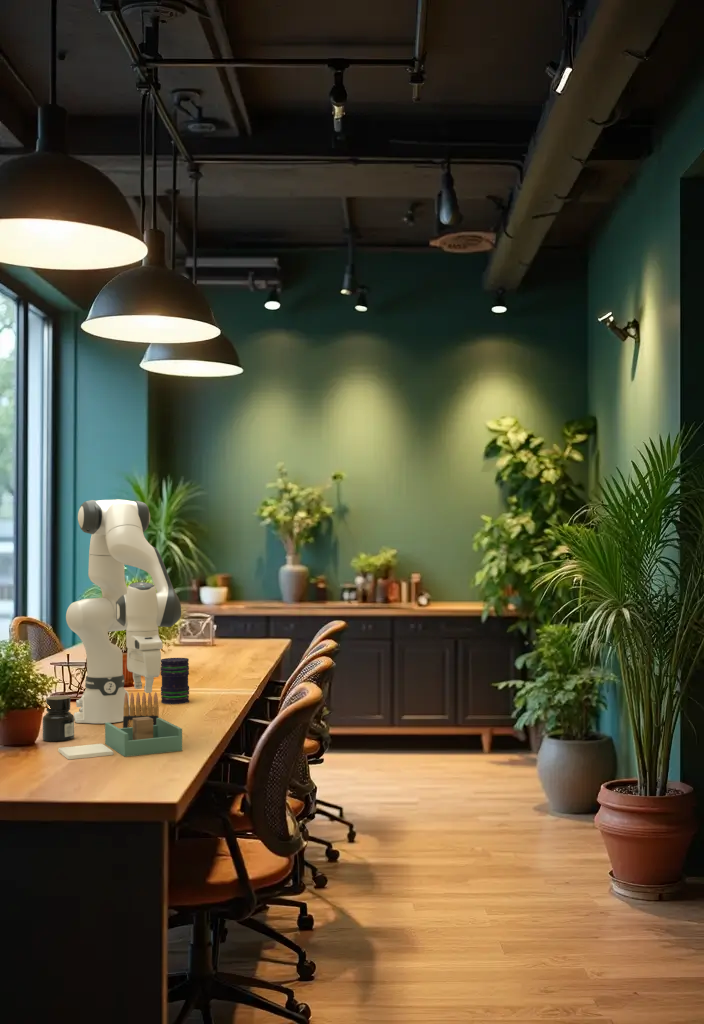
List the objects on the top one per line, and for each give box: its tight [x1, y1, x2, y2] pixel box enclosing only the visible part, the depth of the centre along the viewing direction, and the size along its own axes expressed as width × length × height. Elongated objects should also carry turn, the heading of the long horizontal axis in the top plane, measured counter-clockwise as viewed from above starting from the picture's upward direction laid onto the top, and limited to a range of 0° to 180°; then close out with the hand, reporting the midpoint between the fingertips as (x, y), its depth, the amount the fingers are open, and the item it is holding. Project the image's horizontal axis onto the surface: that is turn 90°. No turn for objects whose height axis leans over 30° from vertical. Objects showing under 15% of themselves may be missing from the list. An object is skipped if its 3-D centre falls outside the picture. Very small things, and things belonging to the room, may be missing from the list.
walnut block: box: [133, 717, 153, 740], centre depth 304 cm, size 4×4×8 cm
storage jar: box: [160, 657, 190, 705], centre depth 383 cm, size 10×10×15 cm
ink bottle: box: [42, 695, 75, 742], centre depth 317 cm, size 10×9×12 cm
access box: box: [104, 717, 183, 758], centre depth 304 cm, size 20×16×6 cm
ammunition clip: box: [122, 691, 160, 728], centre depth 326 cm, size 11×2×12 cm, turn 92°
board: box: [57, 743, 114, 760], centre depth 296 cm, size 12×12×1 cm
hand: (143, 690), depth 304 cm, fingers open, 8 cm apart
